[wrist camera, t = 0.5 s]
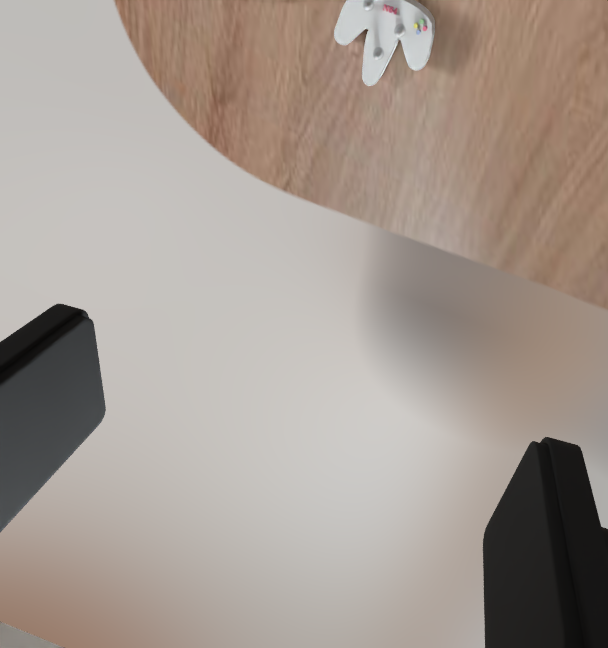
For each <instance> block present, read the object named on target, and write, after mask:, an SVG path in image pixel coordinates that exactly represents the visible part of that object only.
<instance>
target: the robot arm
mask: <svg viewBox="0 0 608 648" xmlns="http://www.w3.org/2000/svg"><path fill="white" fill-rule="evenodd" d="M105 410H106V409H105V400H104V393H103V386H102V380H101V372H100V365H99V358H98V351H97V343H96V336H95V330H94V324H93V321H92V320H91V319H89V317H88V314H87V313H86V311H84V310H81V309H78V308H75V307H71V306H67V305H64V304H56V305H54V306H52V307H51V308H49V309H48V310H46V311H45V312H43V313H42V314H41V315H39V316H38V317H37V318H35V319H33V320H32V321H30V322H29V323H27V324H26V325H25V326H23V327H22V328H20V329H19V330H17V331H16V332H14V333H13V334H11V335H10V336H9V337H7V338H6V339H4V340H3V341H1V342H0V532H1V531H2V530H3V529H4V528H5V527H6V526H7V524H8V523H9V522H10V521H11V520H12V519H13V518H14V517H15V516H16V515H17V514H18V512H19V511H20V510H21V509H22V508H23V507H24V506H25V505H26V504H27V503H28V501H29V500H30V499H31V498H32V497H33V496H34V495H35V494H36V493H37V492H38V490H39V489H40V488H41V487H42V486H43V485H44V484H45V483H46V482H47V481H48V480H49V479H50V478H51V476H52V475H53V474H54V473H55V472H56V471H57V470H58V469H59V468H60V467H61V466H62V464H63V463H64V462H65V461H66V460H67V459H68V458H69V457H70V456H71V455H72V454H73V452H74V451H75V450H76V449H77V448H78V447H79V446H80V445H81V444H82V443H83V442H84V440H85V439H86V438H87V437H88V436H89V435H90V434H91V433H92V432H93V431H94V429H95V428H96V427H97V426H98V425H99V424H100V423H101V421H102V419H103V417H104V415H105ZM483 563H484V565H483V566H484V567H483V568H484V614H485V648H608V529H606V528H603V527H601V524H600V521H599V517H598V513H597V509H596V505H595V501H594V497H593V493H592V489H591V485H590V481H589V477H588V474H587V470H586V466H585V462H584V458H583V454H582V451H581V448H580V447H579V446H578V445H575V444H571V443H567V442H564V441H560V440H556V439H553V438H549V437H545V438H544V439H542V441H541V442H540V443H538V442H535V441H532V442H531V443H530V445H529V446H528V448H527V450H526V452H525V454H524V456H523V458H522V460H521V462H520V463H519V465H518V467H517V469H516V471H515V473H514V475H513V477H512V479H511V481H510V483H509V484H508V486H507V489H506V490H505V492H504V494H503V496H502V498H501V500H500V502H499V504H498V506H497V508H496V509H495V511H494V513H493V515H492V517H491V519H490V521H489V523H488V525H487V527H486V530H485V533H484V539H483ZM0 648H64V647H62V646H59V645H57V644H54V643H52V642H49V641H47V640H45V639H42V638H40V637H37V636H35V635H32V634H30V633H27V632H25V631H22V630H20V629H17V628H15V627H12V626H10V625H7V624H5V623H2V622H0Z"/></svg>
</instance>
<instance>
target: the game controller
mask: <svg viewBox="0 0 608 648" xmlns="http://www.w3.org/2000/svg"><path fill="white" fill-rule="evenodd" d="M365 29H368V30H369V31H368V33H367V35H366V39H365V47H364V58H363V68H362V78H363V81H364V83H365V84H366V85H368V86H372V85H374V84H376V83H377V81H378V80H379V79H380V77H381V76H382V74H383V73H384V71H385V69H386V67H387V65H388V63H389V61H390V59H391V56H392V54H393V52H394V50H395V48H396V46H397V44H398V40H401V43H402V47H403V50H404V54H405V57H406V61H407V64H408V66H409V67H410V68H411V69H413V70H420V69H422V68H423V67H424V66H425V65H426V63H427V61H428V59H429V56H430V52H431V48H432V43H433V38H434V34H435V19H434V17H433V16H432V14H431V12H430V11H429V10H428V9H427V8H426V7H424V6H423V5H422V4H421V3H419V2H417V1H415V0H347V1H346V3H345V4H344V6H343V8H342V10H341V13H340V16H339V19H338V22H337V25H336V28H335V31H334V37H335V39H336V41H337V42H338V43H339V44H341V45H347V44H349V43H350V42H351V41H352V40H354V39H355V38H356V37H357V36H358V35H359V34H360V33H362V32H363V31H364V30H365Z"/></svg>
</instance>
